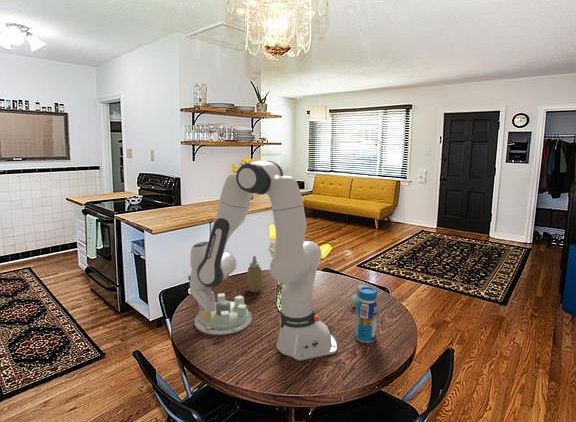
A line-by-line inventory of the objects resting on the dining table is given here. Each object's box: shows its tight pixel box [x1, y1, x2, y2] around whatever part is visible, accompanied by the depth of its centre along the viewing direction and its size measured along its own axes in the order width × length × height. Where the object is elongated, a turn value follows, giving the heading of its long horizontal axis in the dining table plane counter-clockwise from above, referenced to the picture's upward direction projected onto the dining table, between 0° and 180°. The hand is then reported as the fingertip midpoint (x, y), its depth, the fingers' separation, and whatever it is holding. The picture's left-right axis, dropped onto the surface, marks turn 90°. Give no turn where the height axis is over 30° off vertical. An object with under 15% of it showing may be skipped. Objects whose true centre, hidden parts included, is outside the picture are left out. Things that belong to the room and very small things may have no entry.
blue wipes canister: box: [354, 286, 379, 344], centre depth 142 cm, size 8×8×20 cm
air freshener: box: [350, 284, 370, 309], centre depth 168 cm, size 11×8×10 cm
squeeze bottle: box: [246, 255, 263, 293], centre depth 184 cm, size 8×8×18 cm
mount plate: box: [193, 310, 253, 336], centre depth 155 cm, size 24×24×3 cm
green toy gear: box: [197, 292, 249, 330], centre depth 155 cm, size 21×21×6 cm
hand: (202, 312), depth 151 cm, fingers closed
